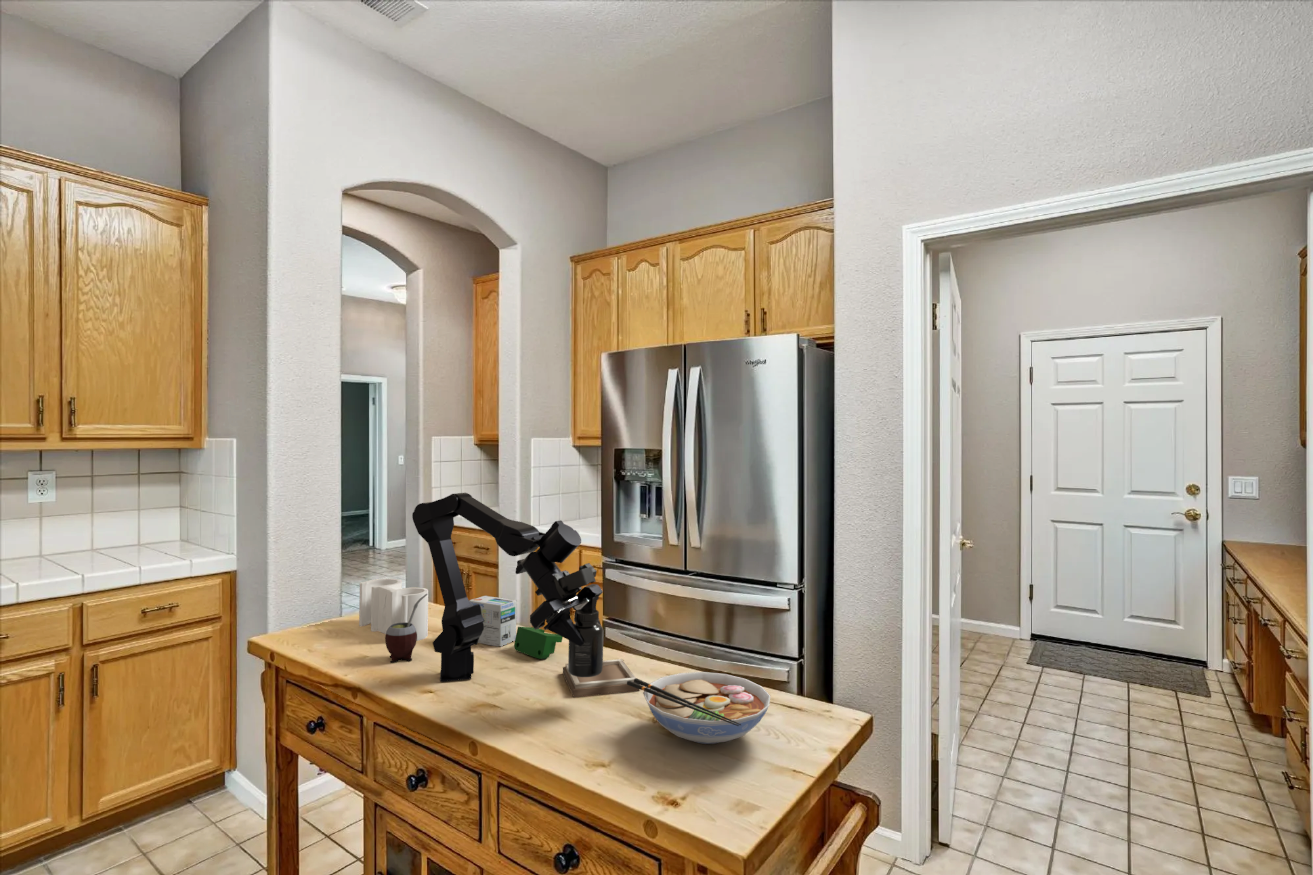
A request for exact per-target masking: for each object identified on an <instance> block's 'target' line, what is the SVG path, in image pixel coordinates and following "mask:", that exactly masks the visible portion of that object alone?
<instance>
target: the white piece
mask: <svg viewBox="0 0 1313 875" xmlns="http://www.w3.org/2000/svg"><path fill="white" fill-rule="evenodd" d="M425 594H427V595H426V596H425V597H424V598H423V599H422V600H421V601H420V602H419V603H418V606H417V608H416V610H415V613H414V615H413V618H412V621H411V623H412V624H413V625H414V626H415V628H416V632H417V641H422V640H425V639H427V637H428V636H429V633H428V631H429V629H428V628H429V625H428V624H429V621H428V620H429V589H428V588H424V587H404V588H403V580H401V579H398V578H378V579H377V578H374V579H370V580H366V581H361V582H359V605H358V606H359V610H358V613H359V614H358V615H359V617H358V619H359V620H358V626H359V627H365V626H368V625H370V632H379V633H382V634H384V635H386V631H387V629H388V628H389V627H390V626H391V625H392V624H396V623H408V622H409V619H410V617H411V614H412V611H413V609H414V605H415V603H416V602H417V601H418V600H419V599H420V598H421V597H423V596H424V595H425ZM417 641H416V642H417Z"/></svg>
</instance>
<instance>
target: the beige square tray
mask: <svg viewBox="0 0 1313 875" xmlns="http://www.w3.org/2000/svg"><path fill="white" fill-rule="evenodd" d="M562 675H563V676H564V679H565V682H566V684H567V686H568V688H569V690H570V693H571V695H572V697H573V698H576V697H577V698H579V697H588V696H598V694H599V696H600V695H610V694H619V693H618V692H621V693H629V692H637V691H638V692H639V691H641V690H640V689H637V688H635V687H632V686H629V685H627V681H632V682H634V679H636V678H637V677H636V676H635V675H634V673H633V672H632V671H631V669H630V667H629V666H628V665H627V664H626V663H625V661H624V660H623V659H622V658H618V659H607V660H603V669H602V672H601V673H600V674H599V675H597V676H593V677H576V676H573V675H571V674H570V673H569V671H568V663H565V666H562ZM634 683H635V682H634ZM639 685H640V684H639Z"/></svg>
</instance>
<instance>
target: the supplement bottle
mask: <svg viewBox="0 0 1313 875" xmlns="http://www.w3.org/2000/svg"><path fill="white" fill-rule="evenodd" d="M574 615H575V616H574V618H573V621H574V625H575V627H576V628H577V630H578V631H579V633H580V635H581V637H582V639H583V641H584V644H583V645H582V646H579V645H577V644H575V643H573V642H571V641H569V640H568V660H567V661H568V663H567V664H568V671H569V673H570V674H571V675H573V676H576V677H593V676H597V675H599V674H600V673H601V672H602V669H603V661H604V628H603V625H600V624H601V623H600V624H598V621H600V618H599V617H600V612H599V610H597V609H596V610H595V609H579V610H574Z"/></svg>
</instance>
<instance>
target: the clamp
mask: <svg viewBox="0 0 1313 875" xmlns="http://www.w3.org/2000/svg"><path fill="white" fill-rule="evenodd" d="M545 631H546V630H544V629H542V628H539V629H536V630H535V629H534V628H533V626H532V627H531V626H517V628H516V638H515V641H514V645H513V648H514V650H515V651H516V652H518V653H522V654H525V655H527V656H529V657H532V658H535V659H539V660H541V659H543V660H544V659H545V660H547V659H548V658H549V657H550V654H554V653H555V650H556V646H557V643H562V642H563V638H564V637H562V636H560V635H558V634H556V633H551V632H550V633H549V632H545Z"/></svg>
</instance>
